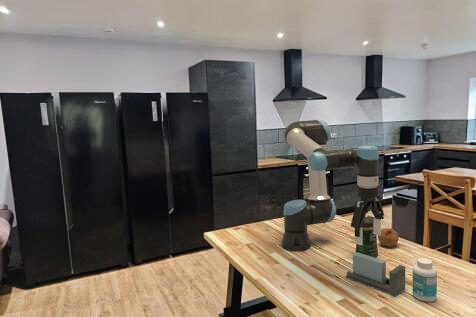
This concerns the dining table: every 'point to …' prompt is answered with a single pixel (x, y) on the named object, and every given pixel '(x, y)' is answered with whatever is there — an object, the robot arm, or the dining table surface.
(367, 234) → the coffee jar
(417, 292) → the pill bottle
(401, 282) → the floor track
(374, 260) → the gray rectangular block
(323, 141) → the robot arm
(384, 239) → the onion
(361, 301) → the dining table surface
